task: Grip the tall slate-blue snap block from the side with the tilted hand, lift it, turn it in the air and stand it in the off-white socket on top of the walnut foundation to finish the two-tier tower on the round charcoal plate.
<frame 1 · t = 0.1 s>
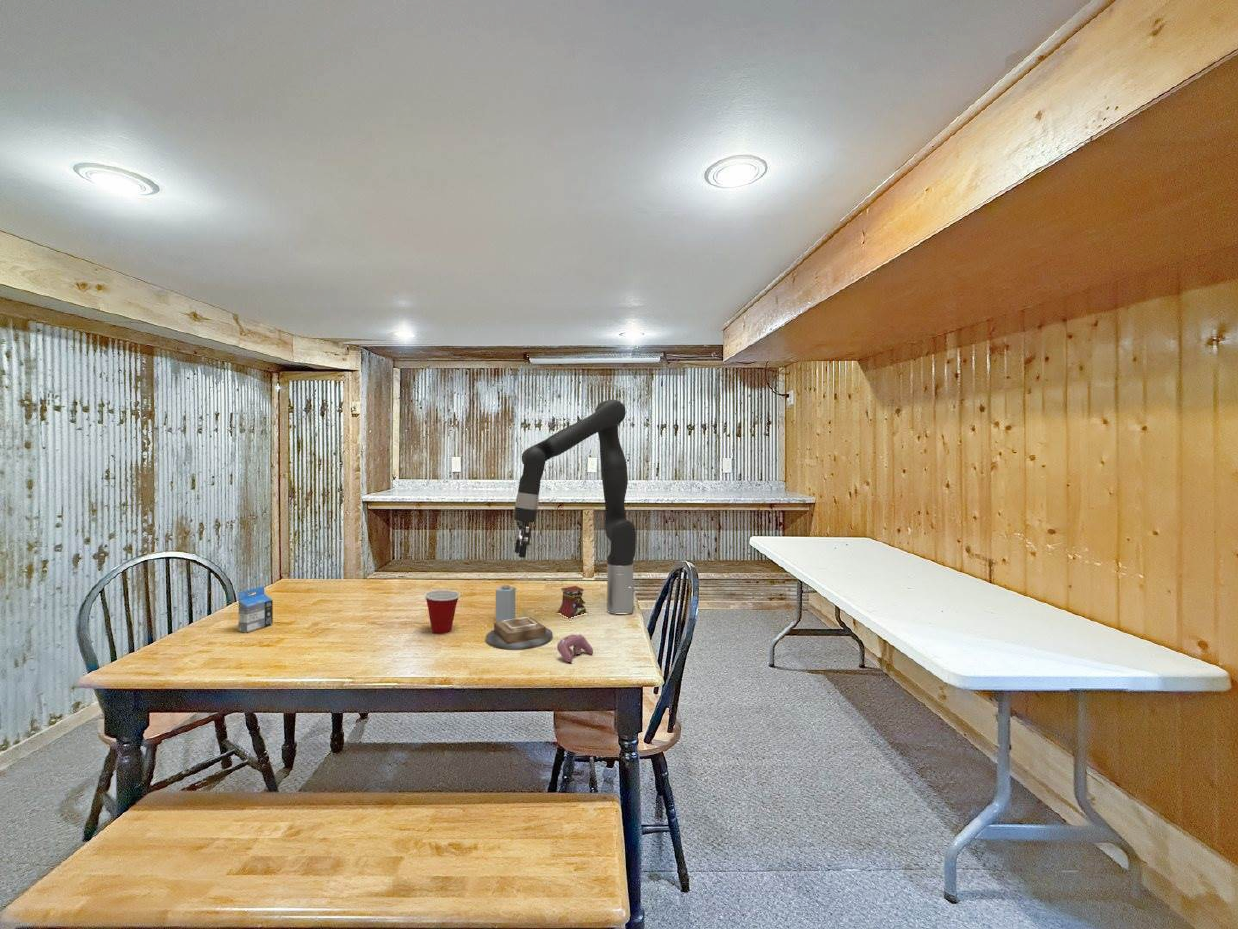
hand: (519, 555, 185), 22 cm above the table, tool pointing down, fingers open, 8 cm apart
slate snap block: (505, 621, 185), on the table
plastic cup: (442, 631, 175), on the table
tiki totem: (572, 615, 194), on the table
ink cartridge box: (256, 629, 176), on the table
tower base: (519, 638, 169), on the table
purple curved piece: (574, 657, 154), on the table
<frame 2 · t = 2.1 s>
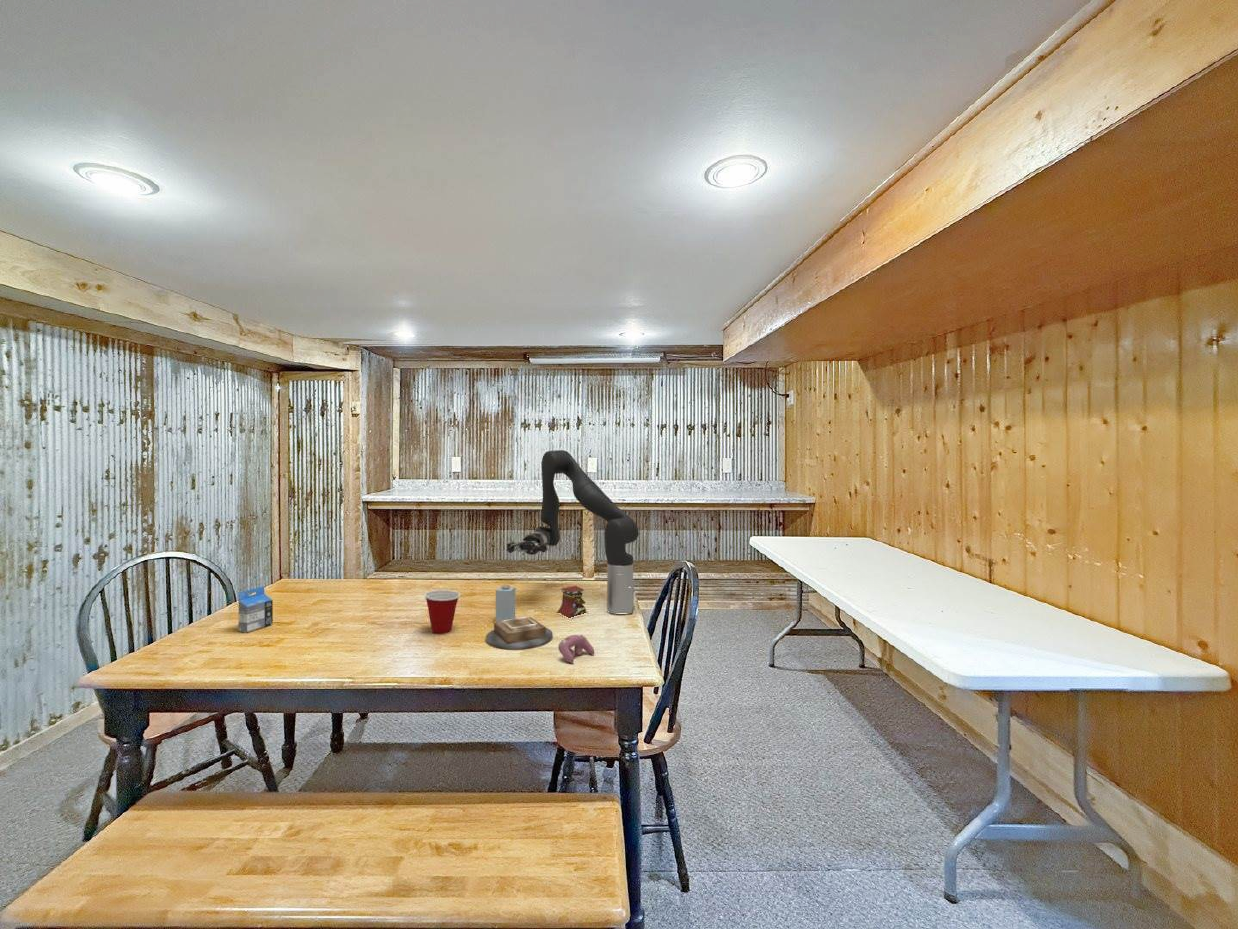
hand: (521, 550, 194), 22 cm above the table, tool horizontal, fingers open, 8 cm apart
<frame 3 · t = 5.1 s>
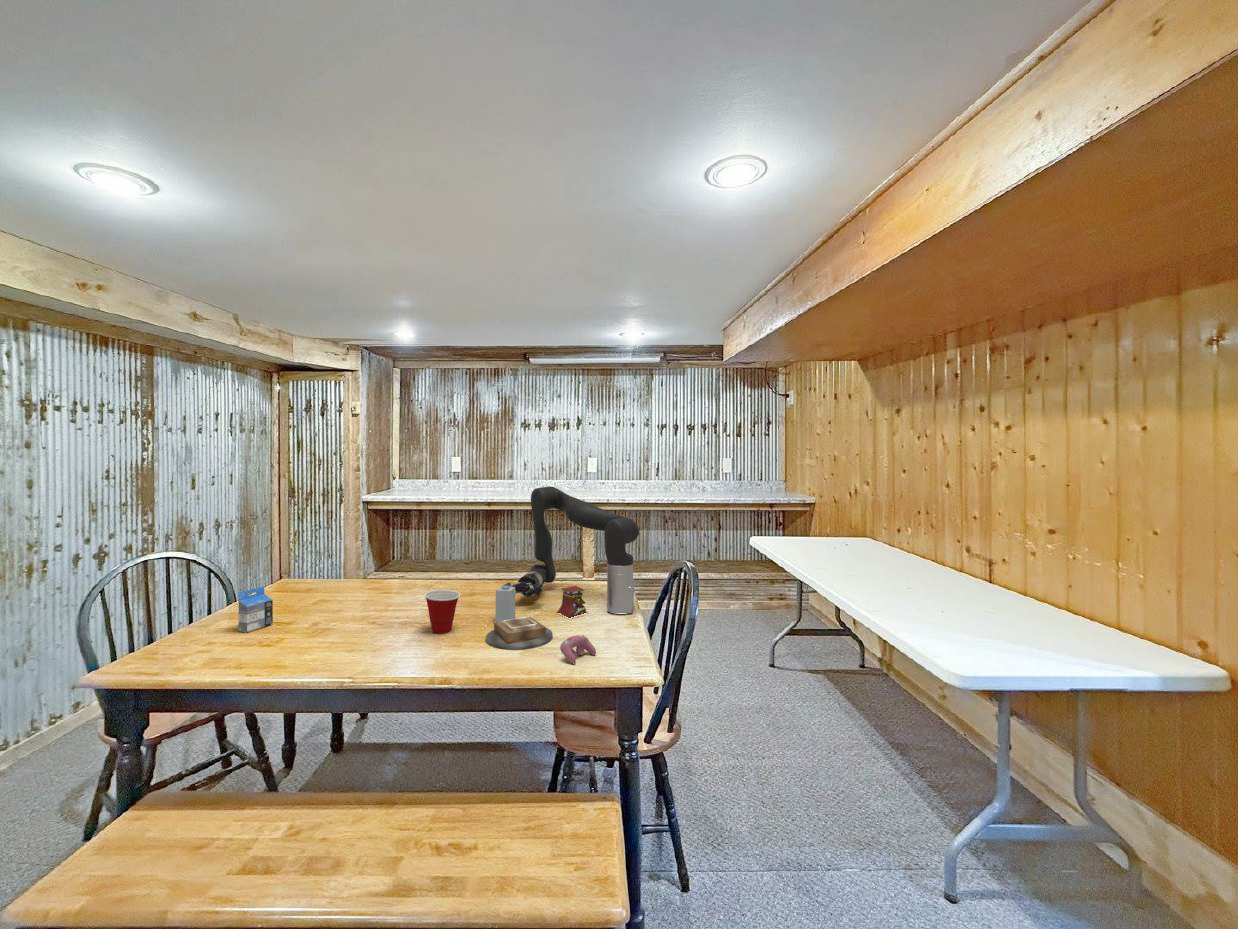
hand: (516, 593, 196), 7 cm above the table, tool horizontal, fingers open, 8 cm apart
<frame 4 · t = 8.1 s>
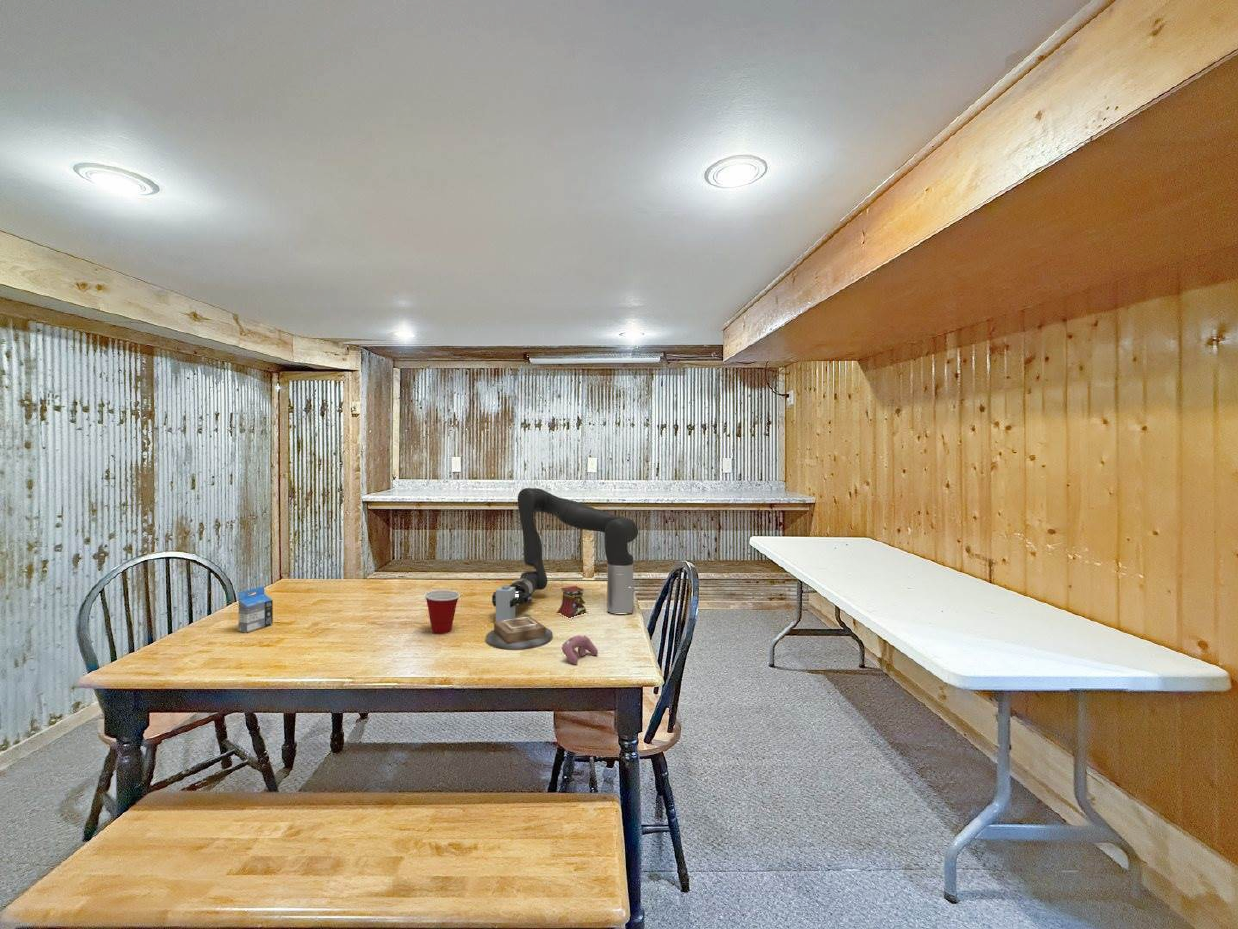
hand: (502, 604, 183), 7 cm above the table, tool horizontal, fingers closed on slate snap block, 5 cm apart
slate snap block: (505, 621, 185), on the table, touching gripper
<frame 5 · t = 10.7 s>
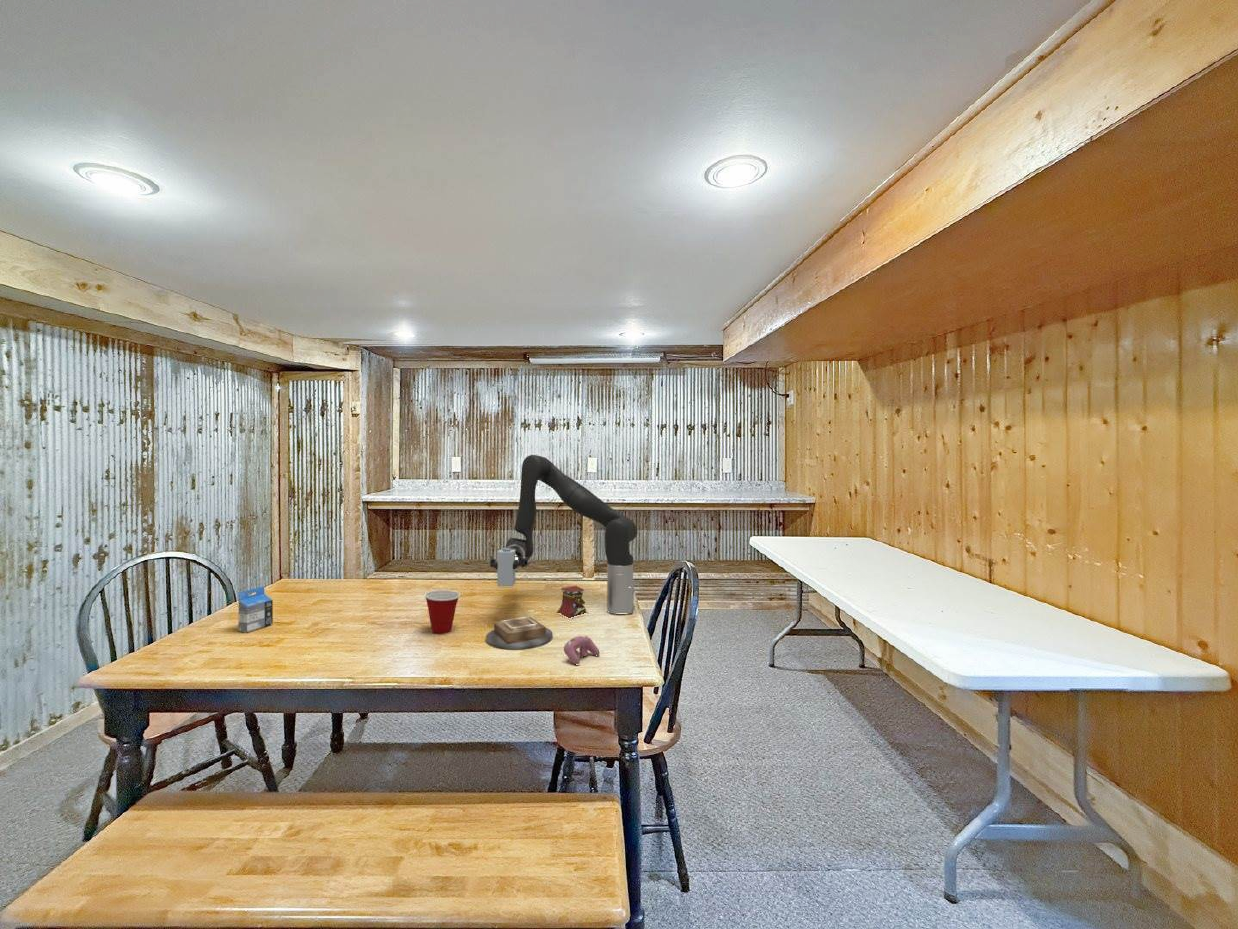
hand: (505, 566, 178), 20 cm above the table, tool horizontal, fingers closed on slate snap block, 5 cm apart
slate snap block: (506, 584, 180), point 13 cm above the table, touching gripper
when the fingers open (12 cm above the table, at t = 13.7 s): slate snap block drops 2 cm, resting on tower base.
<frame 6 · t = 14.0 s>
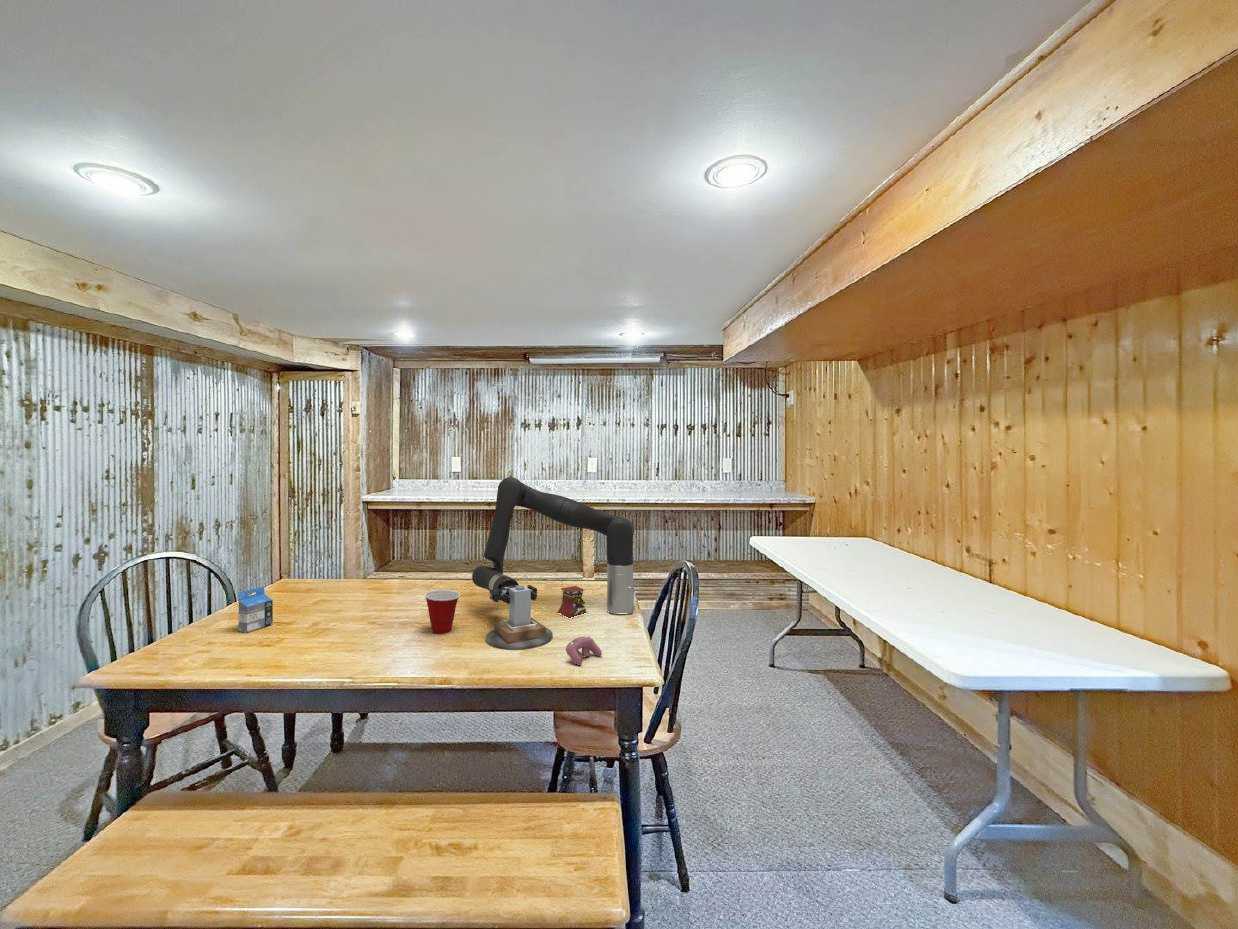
hand: (522, 598, 167), 13 cm above the table, tool horizontal, fingers open, 7 cm apart
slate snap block: (519, 625, 169), point 4 cm above the table, touching tower base
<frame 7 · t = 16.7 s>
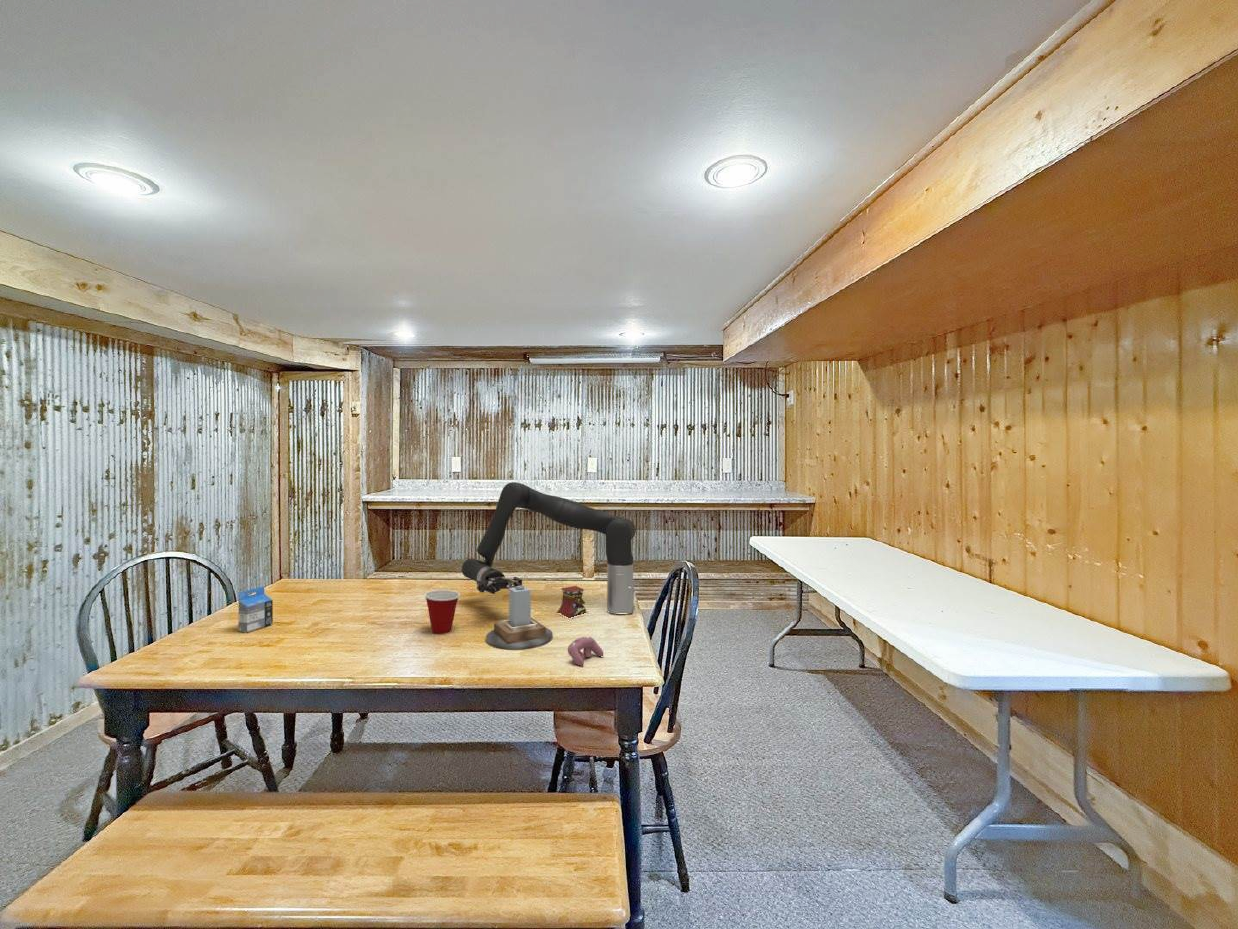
hand: (507, 589, 178), 13 cm above the table, tool horizontal, fingers open, 8 cm apart
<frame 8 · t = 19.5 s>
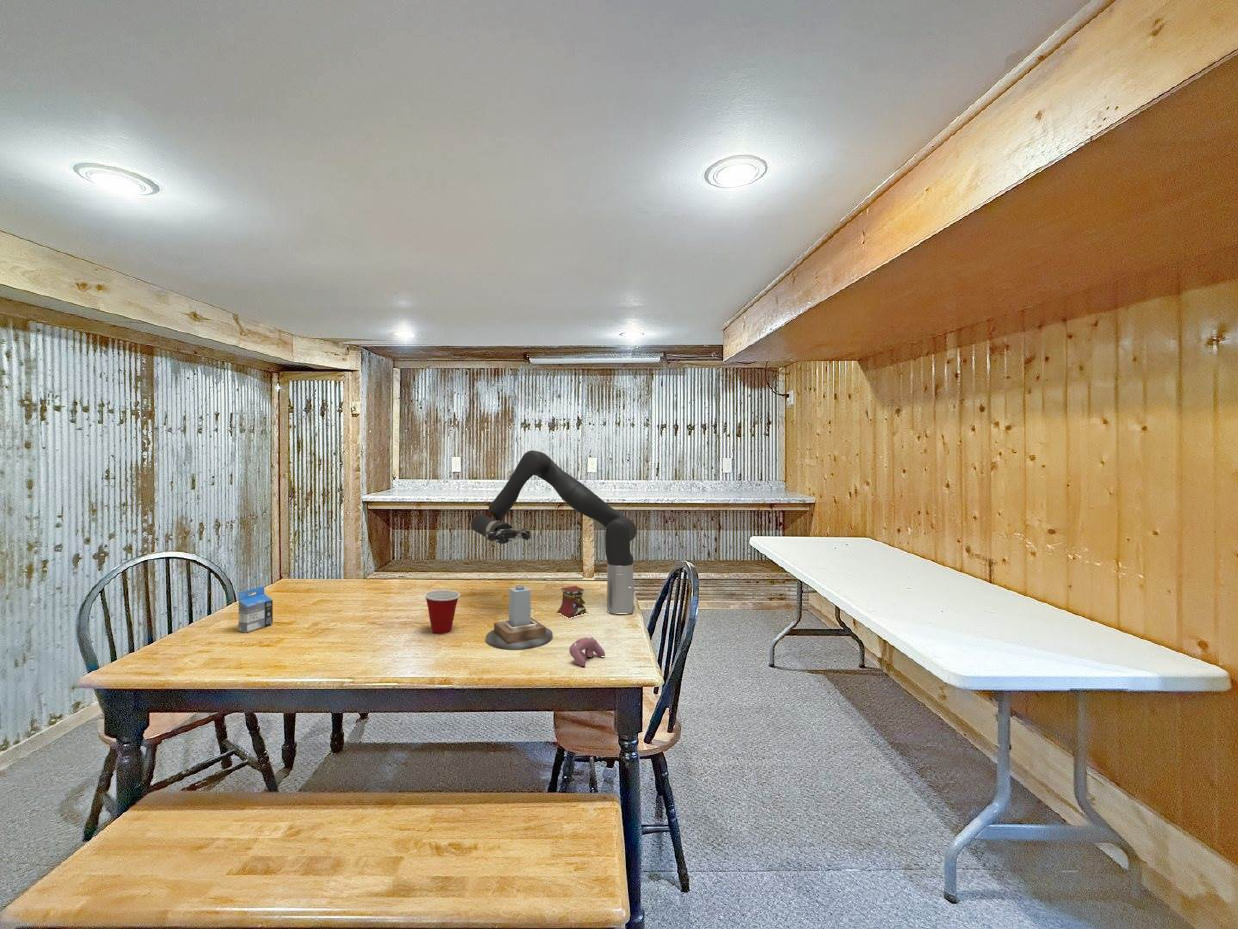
hand: (515, 538, 185), 28 cm above the table, tool horizontal, fingers open, 8 cm apart
at the end: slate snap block 0.0 cm off-centre on the tower base, point 4.0 cm above the tower base's base; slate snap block tilted 0°; the gripper is holding nothing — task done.
